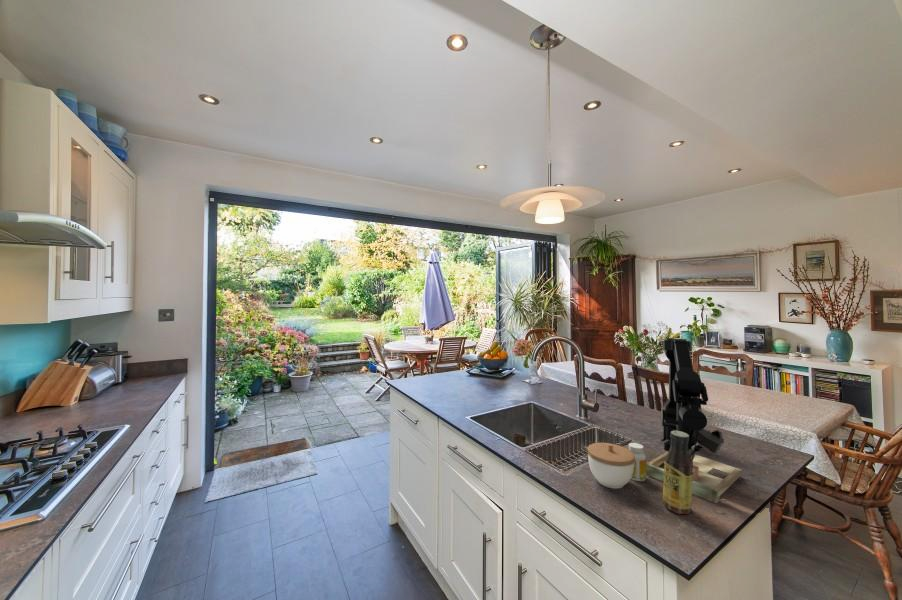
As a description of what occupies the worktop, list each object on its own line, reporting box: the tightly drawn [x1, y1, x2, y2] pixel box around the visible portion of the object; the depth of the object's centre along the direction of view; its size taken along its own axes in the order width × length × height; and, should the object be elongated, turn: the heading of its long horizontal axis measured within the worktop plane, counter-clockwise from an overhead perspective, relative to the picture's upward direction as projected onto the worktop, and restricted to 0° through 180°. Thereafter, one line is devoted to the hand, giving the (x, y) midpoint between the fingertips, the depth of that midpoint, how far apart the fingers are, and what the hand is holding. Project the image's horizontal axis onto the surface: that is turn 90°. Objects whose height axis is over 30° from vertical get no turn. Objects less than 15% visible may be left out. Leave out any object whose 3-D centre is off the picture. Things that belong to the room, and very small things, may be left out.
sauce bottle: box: [662, 431, 693, 515], centre depth 88 cm, size 7×6×20 cm
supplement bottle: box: [628, 442, 647, 482], centre depth 103 cm, size 5×5×10 cm
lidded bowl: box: [587, 442, 635, 490], centre depth 101 cm, size 13×13×11 cm
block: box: [692, 466, 699, 481], centre depth 101 cm, size 6×6×4 cm
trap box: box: [646, 451, 742, 504], centre depth 105 cm, size 18×25×3 cm
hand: (687, 469), depth 104 cm, fingers closed
